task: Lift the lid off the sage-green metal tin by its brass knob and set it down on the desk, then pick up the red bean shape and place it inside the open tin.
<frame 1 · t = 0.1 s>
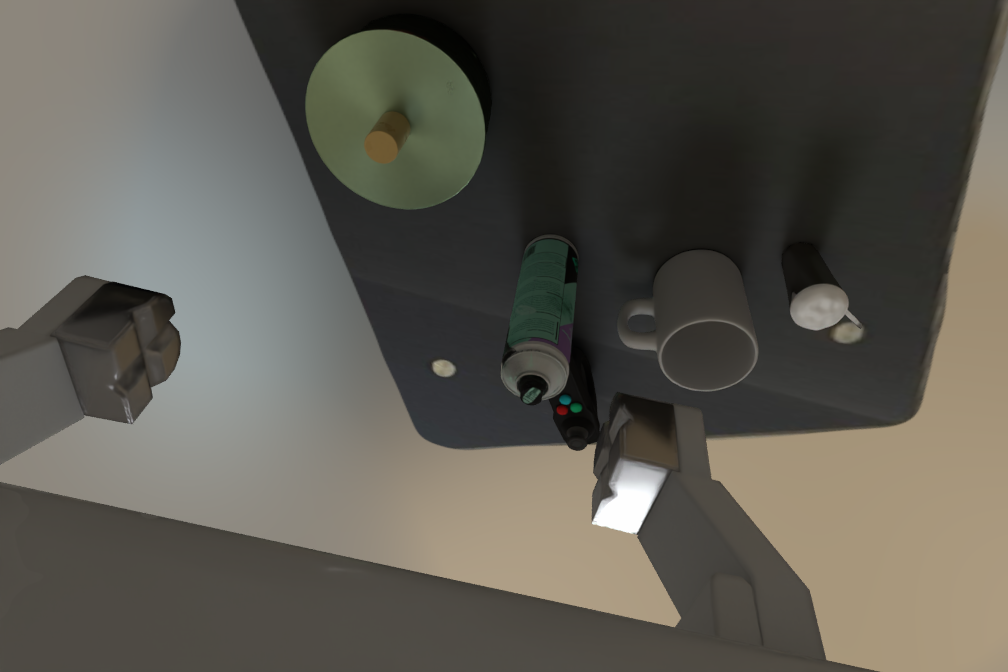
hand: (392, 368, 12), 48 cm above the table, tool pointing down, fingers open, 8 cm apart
tin lid: (396, 124, 54), point 6 cm above the table, touching tin
spray can: (551, 256, 67), on the table
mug: (678, 284, 67), on the table
controller: (572, 355, 74), on the table
tin: (414, 98, 58), on the table
milkshake: (803, 256, 63), on the table
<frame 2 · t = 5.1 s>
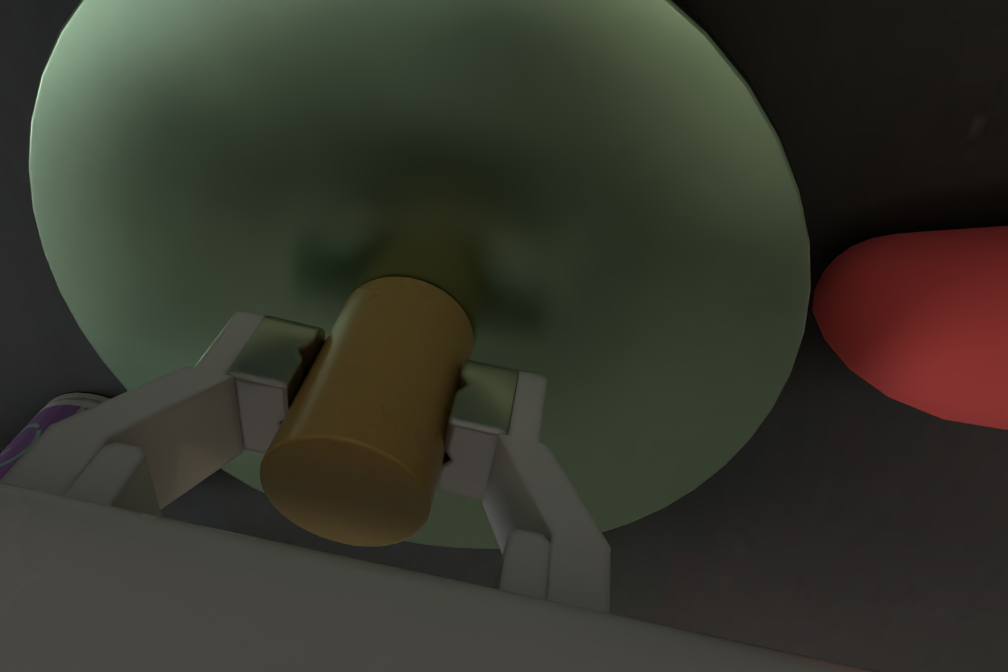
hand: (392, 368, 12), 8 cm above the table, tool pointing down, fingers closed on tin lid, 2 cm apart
tin lid: (415, 312, 13), point 6 cm above the table, touching gripper, tin
spray can: (114, 436, 28), on the table
red bean shape: (989, 254, 18), on the table
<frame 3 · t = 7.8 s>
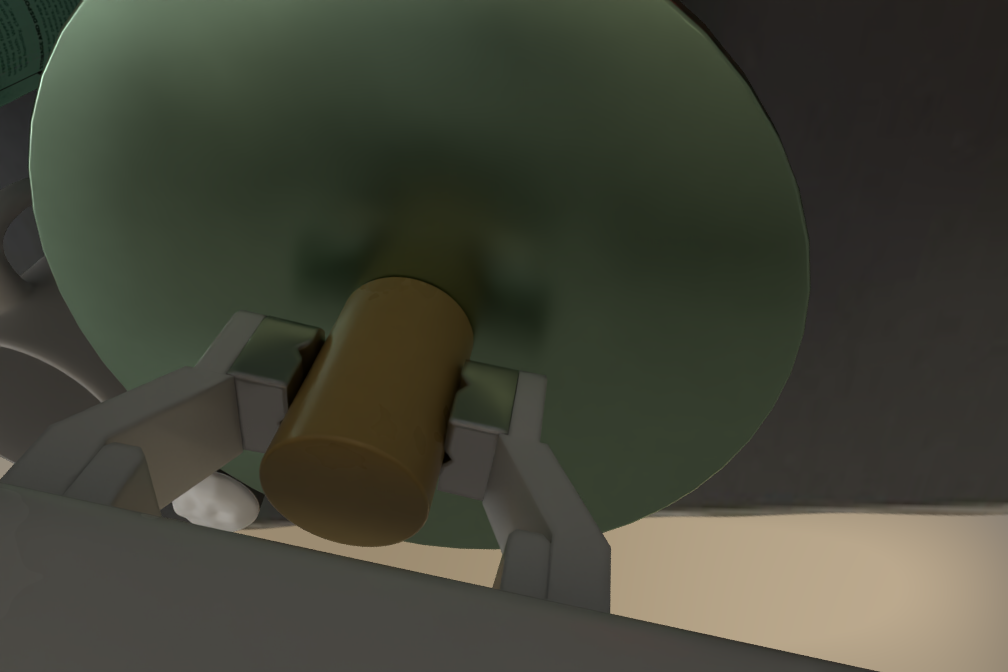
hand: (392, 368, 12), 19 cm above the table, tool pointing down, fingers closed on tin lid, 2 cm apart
tin lid: (415, 312, 13), point 17 cm above the table, touching gripper
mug: (154, 240, 35), on the table
milkshake: (277, 396, 41), on the table
when the fingers open (2 cm above the table, at t = 10.5 s): tin lid stays where it is, point 1 cm above the table.
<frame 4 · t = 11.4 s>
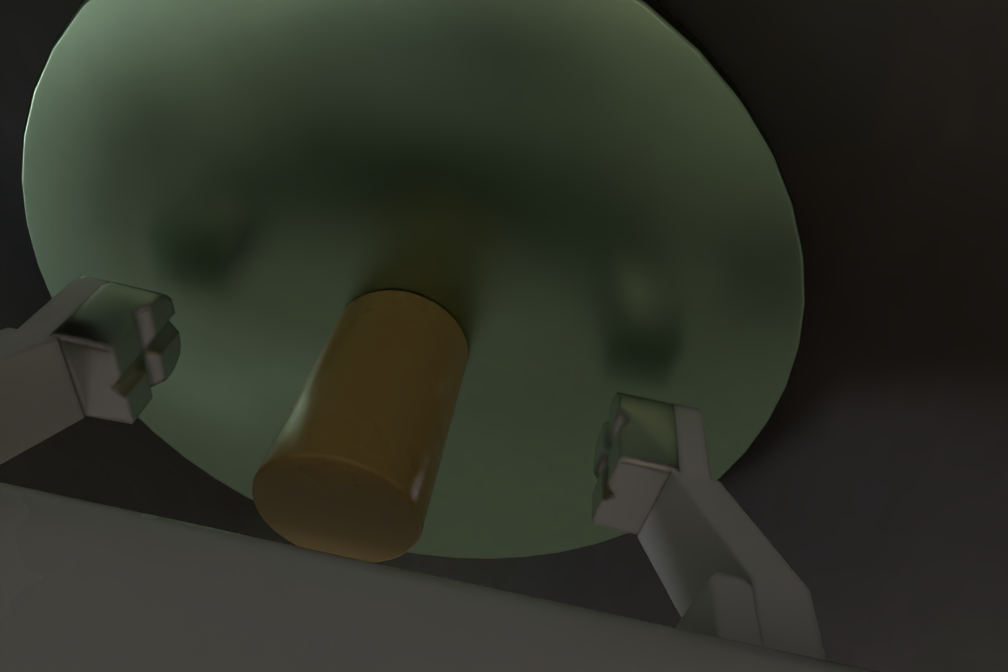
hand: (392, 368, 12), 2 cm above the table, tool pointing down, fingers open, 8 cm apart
tin lid: (410, 324, 13), point 1 cm above the table
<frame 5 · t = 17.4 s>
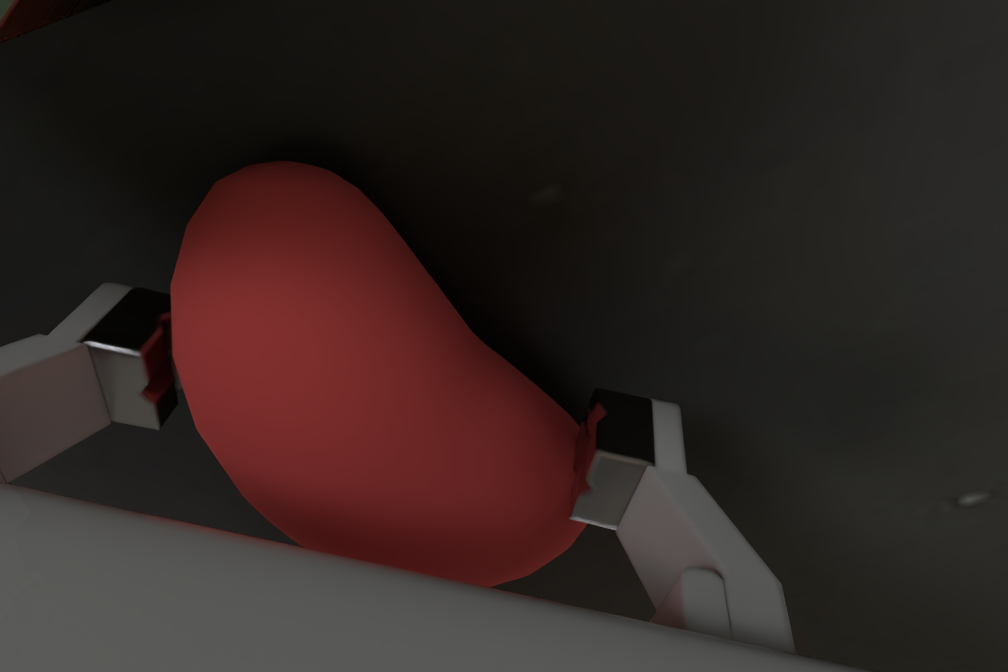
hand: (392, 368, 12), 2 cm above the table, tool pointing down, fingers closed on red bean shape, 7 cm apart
red bean shape: (420, 324, 14), on the table, touching gripper
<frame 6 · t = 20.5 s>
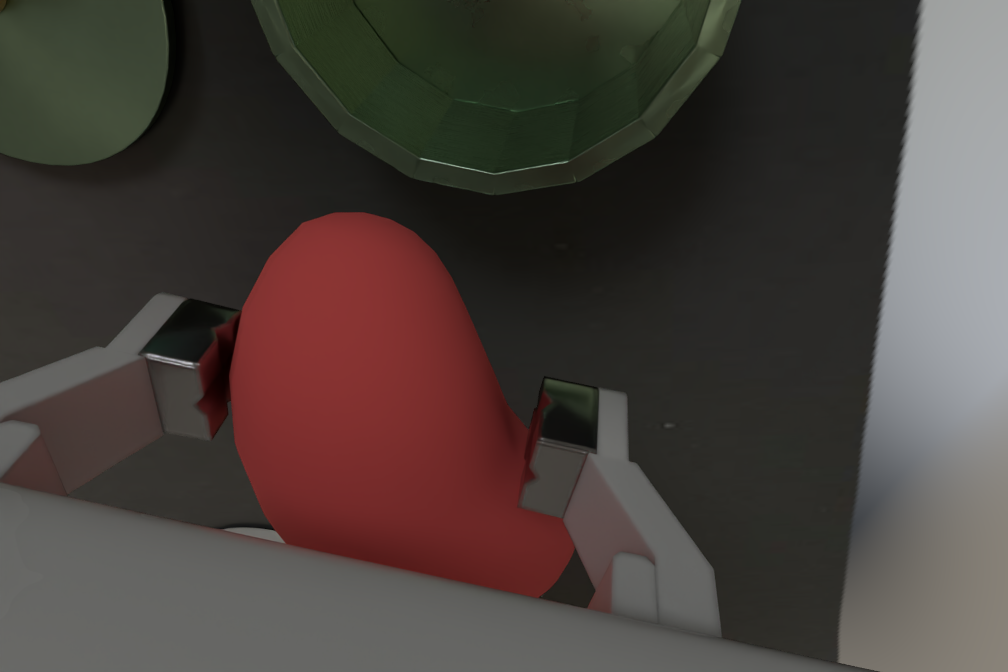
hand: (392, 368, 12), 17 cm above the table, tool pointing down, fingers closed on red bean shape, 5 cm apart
red bean shape: (437, 365, 15), point 14 cm above the table, touching gripper
when the fingers open (3 cm above the table, at t = 24.4 s): red bean shape stays where it is, resting on tin.
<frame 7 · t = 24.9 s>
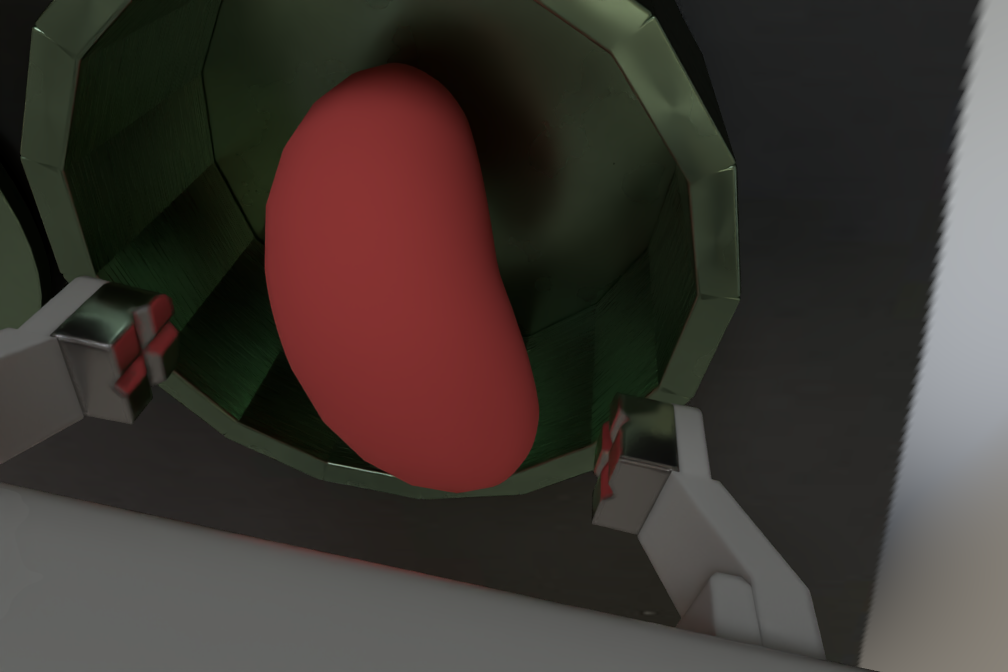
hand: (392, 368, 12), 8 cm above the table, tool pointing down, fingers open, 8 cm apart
tin: (438, 155, 18), on the table
red bean shape: (435, 279, 17), point 3 cm above the table, touching tin
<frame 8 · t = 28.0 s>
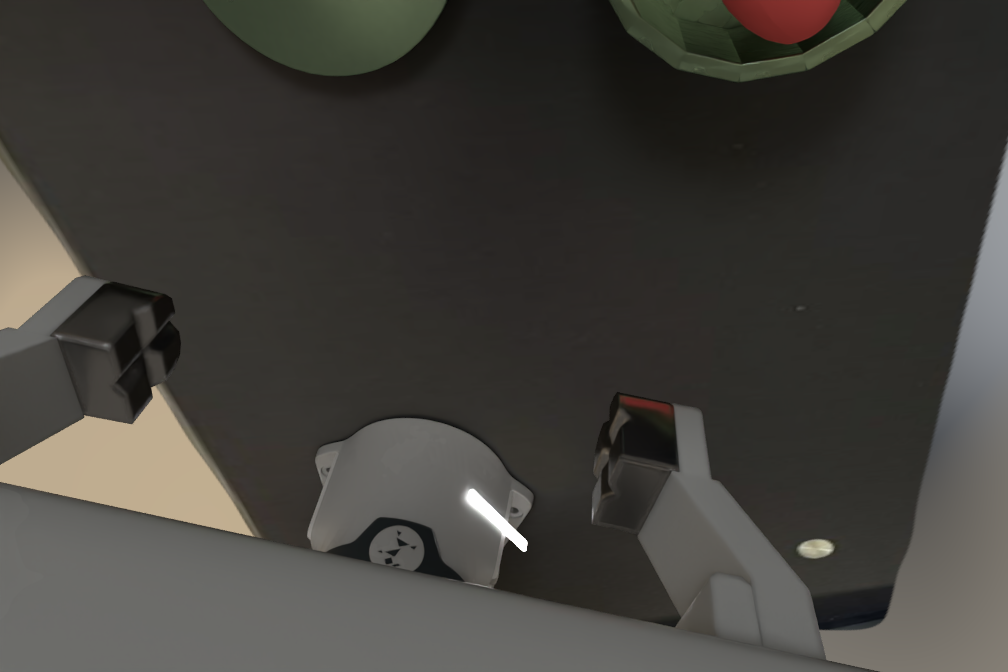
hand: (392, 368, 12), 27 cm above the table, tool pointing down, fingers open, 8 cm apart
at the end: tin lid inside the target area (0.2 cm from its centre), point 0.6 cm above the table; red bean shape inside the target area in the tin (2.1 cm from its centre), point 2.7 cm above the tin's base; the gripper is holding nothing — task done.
